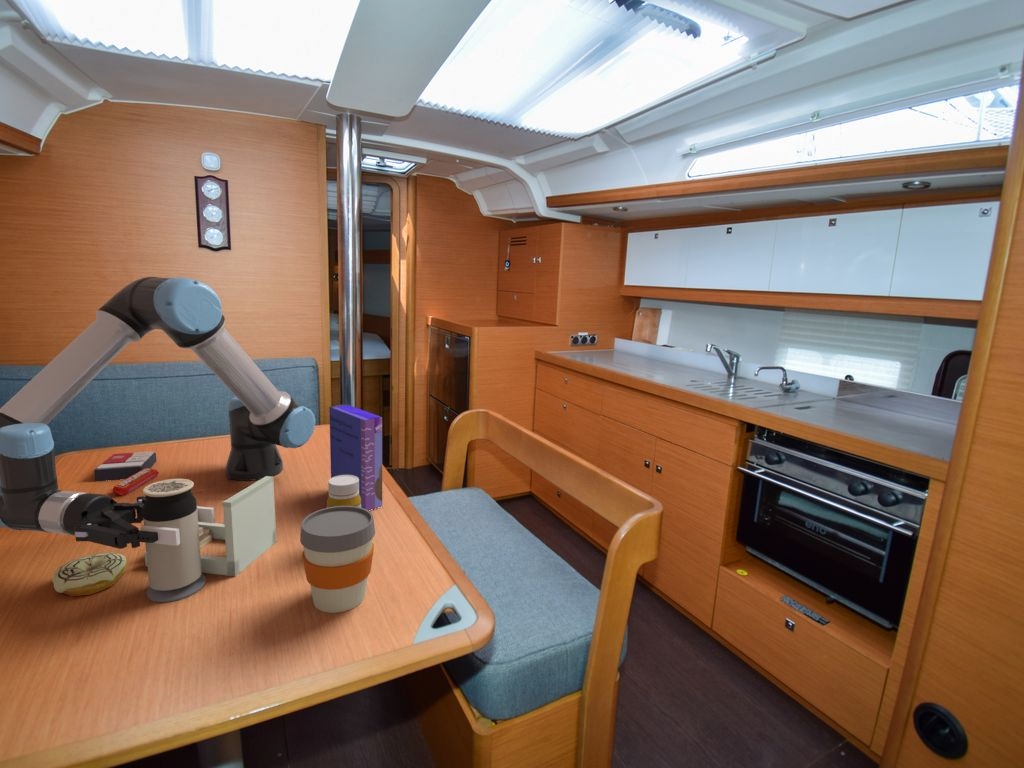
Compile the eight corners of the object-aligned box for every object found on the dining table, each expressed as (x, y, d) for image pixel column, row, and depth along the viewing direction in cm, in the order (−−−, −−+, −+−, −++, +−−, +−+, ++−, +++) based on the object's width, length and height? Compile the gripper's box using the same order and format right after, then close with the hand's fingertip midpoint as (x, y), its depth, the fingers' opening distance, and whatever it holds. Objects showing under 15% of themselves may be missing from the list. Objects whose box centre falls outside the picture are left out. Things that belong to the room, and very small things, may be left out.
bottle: (368, 541, 112) (367, 477, 110) (348, 556, 106) (347, 488, 103) (341, 535, 114) (340, 472, 112) (320, 549, 108) (318, 482, 105)
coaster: (199, 568, 99) (199, 566, 99) (211, 589, 92) (211, 587, 92) (142, 585, 93) (142, 583, 93) (151, 609, 86) (151, 606, 86)
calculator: (156, 450, 155) (142, 463, 141) (157, 463, 156) (143, 478, 142) (112, 452, 151) (93, 467, 137) (113, 466, 151) (94, 482, 138)
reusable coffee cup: (355, 624, 85) (354, 541, 82) (287, 613, 87) (283, 532, 84) (386, 583, 97) (386, 509, 94) (326, 574, 99) (324, 501, 96)
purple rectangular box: (382, 507, 130) (382, 416, 125) (365, 512, 126) (364, 419, 122) (347, 487, 141) (345, 403, 137) (331, 491, 138) (329, 405, 134)
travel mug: (183, 593, 88) (176, 496, 85) (138, 591, 88) (128, 493, 85) (210, 569, 96) (204, 478, 93) (169, 566, 96) (161, 476, 93)
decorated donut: (48, 606, 86) (45, 586, 86) (60, 576, 95) (57, 557, 94) (124, 589, 92) (122, 570, 91) (129, 561, 101) (127, 544, 100)
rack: (145, 566, 99) (138, 493, 96) (196, 533, 112) (191, 469, 109) (235, 576, 97) (230, 502, 94) (276, 542, 110) (273, 476, 107)
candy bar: (124, 498, 129) (123, 487, 129) (109, 498, 129) (108, 487, 128) (162, 475, 145) (161, 465, 144) (148, 475, 145) (147, 465, 144)
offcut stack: (147, 560, 101) (145, 543, 100) (185, 536, 111) (184, 520, 110) (178, 564, 100) (177, 546, 99) (214, 539, 110) (212, 523, 109)
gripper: (131, 509, 103) (235, 520, 101) (23, 562, 83) (150, 577, 80) (127, 474, 102) (233, 484, 99) (17, 519, 81) (146, 533, 79)
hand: (196, 525), depth 90 cm, fingers closed on travel mug, 8 cm apart
